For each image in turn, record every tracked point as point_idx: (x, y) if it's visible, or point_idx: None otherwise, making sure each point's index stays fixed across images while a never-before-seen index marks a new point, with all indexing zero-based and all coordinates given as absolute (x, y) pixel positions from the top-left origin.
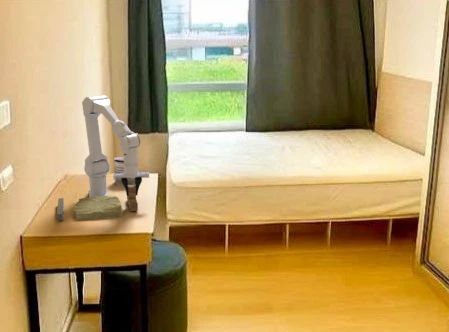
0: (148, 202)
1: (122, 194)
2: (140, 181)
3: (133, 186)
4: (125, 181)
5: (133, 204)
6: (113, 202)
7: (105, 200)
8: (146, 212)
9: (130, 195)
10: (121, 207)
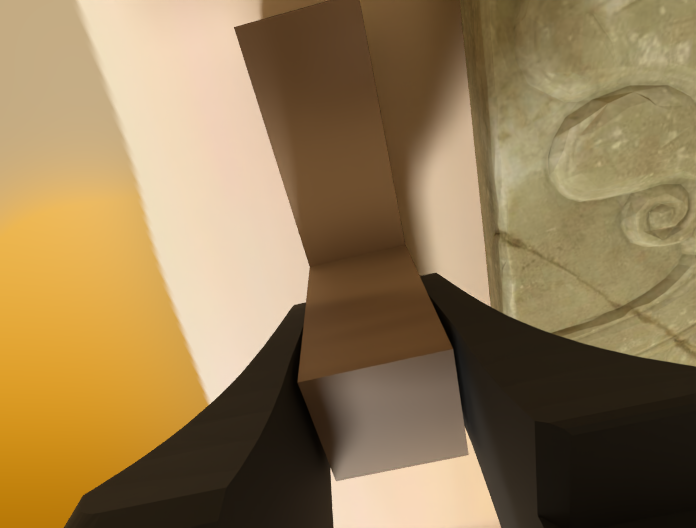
0: (225, 353)
1: (466, 494)
2: (98, 498)
3: (350, 410)
4: (643, 416)
5: (303, 9)
6: (583, 213)
7: (668, 271)
8: (149, 33)
9: (387, 272)
10: (484, 8)
